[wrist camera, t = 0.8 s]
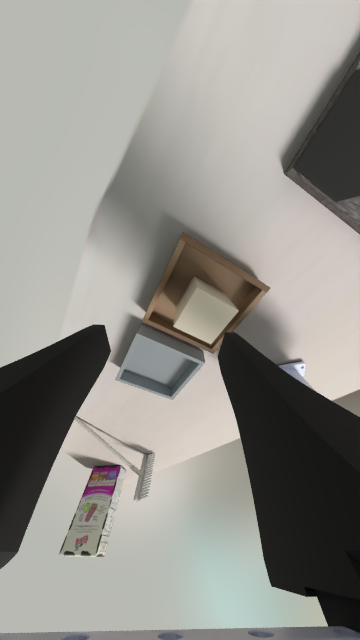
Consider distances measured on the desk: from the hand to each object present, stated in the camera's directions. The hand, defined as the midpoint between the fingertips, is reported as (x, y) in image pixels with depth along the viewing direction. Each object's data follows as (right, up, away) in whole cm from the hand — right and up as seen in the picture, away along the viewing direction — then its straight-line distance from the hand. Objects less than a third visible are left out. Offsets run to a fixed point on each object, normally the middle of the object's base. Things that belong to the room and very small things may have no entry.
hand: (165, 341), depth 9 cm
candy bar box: (-25, -53, +42) cm, 72 cm away
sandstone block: (+3, +4, +9) cm, 10 cm away
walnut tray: (+4, +4, +10) cm, 11 cm away
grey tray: (-3, -6, +15) cm, 16 cm away
